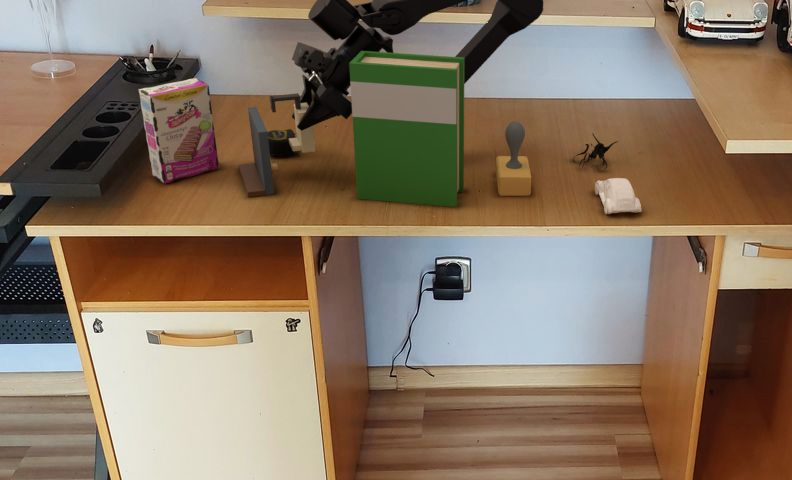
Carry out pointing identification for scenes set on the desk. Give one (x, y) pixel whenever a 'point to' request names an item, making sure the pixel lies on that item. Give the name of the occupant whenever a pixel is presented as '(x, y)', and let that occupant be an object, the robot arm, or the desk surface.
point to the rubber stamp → (513, 165)
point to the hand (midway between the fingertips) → (296, 123)
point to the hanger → (304, 137)
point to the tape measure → (280, 142)
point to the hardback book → (408, 127)
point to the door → (258, 160)
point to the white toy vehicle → (617, 196)
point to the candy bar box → (179, 129)
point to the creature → (596, 152)
